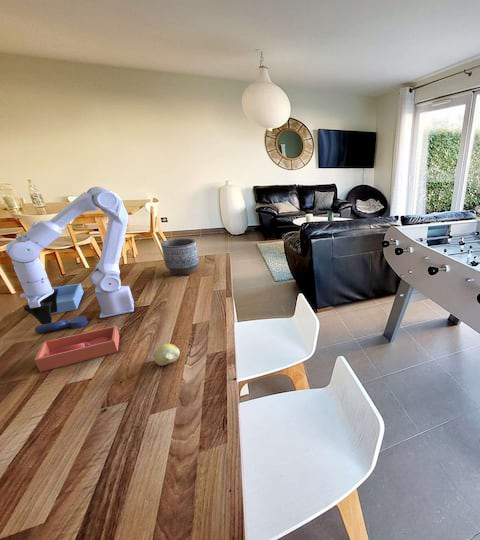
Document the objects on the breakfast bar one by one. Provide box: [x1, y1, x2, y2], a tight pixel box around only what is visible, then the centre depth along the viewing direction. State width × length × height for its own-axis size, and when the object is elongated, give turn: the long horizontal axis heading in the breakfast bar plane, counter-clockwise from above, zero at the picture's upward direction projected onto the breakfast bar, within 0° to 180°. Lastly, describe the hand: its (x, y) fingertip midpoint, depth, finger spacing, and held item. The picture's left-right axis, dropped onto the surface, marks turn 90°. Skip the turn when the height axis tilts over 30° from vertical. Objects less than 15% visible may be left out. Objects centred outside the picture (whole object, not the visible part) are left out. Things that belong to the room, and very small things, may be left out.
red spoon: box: [51, 337, 108, 355], centre depth 83 cm, size 12×4×3 cm, turn 125°
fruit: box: [153, 343, 181, 366], centre depth 82 cm, size 6×6×10 cm
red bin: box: [34, 325, 120, 373], centre depth 83 cm, size 16×9×4 cm, turn 125°
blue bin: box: [51, 283, 84, 315], centre depth 108 cm, size 16×9×4 cm, turn 35°
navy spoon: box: [34, 315, 89, 334], centre depth 94 cm, size 12×4×3 cm, turn 125°
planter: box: [160, 237, 200, 276], centre depth 138 cm, size 14×14×15 cm
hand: (50, 317), depth 92 cm, fingers open, 7 cm apart
